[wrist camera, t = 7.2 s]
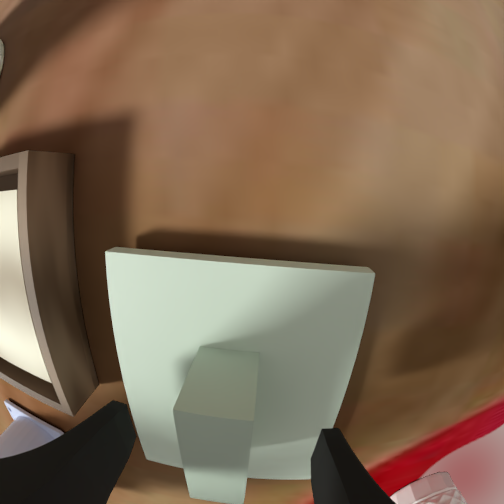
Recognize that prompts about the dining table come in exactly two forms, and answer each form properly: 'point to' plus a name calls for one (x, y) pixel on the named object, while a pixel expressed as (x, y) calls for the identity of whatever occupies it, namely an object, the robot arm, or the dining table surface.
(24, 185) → the box
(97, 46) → the dining table surface
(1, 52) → the coffee can
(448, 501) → the white cup
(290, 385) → the lid
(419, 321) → the dining table surface
